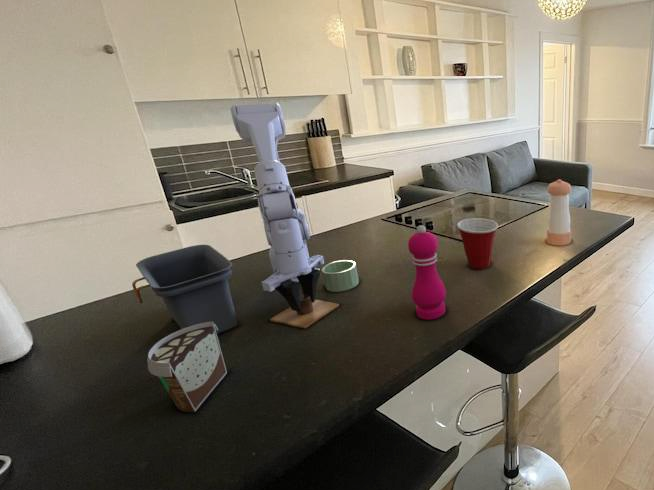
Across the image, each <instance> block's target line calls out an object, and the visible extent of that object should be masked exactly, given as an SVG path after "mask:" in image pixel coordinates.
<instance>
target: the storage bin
mask: <svg viewBox="0 0 654 490" xmlns="http://www.w3.org/2000/svg"><path fill="white" fill-rule="evenodd" d="M135 266H136V268H137V269H138V270H139V272H140V274H141V276H142V277H140V278H137V279H135V280H134V281H132V285H131V286H132V289H133V291H134V294H135V295H134V296H135V297H136V300H137V301H138V303H139V304H142V303H143V299H142V295H141V293H140V290H142V289H145V288H151V290H152V291H153V292H154V293H155V295H156V296H157V297H161V298H162V300H163V303H164V304H165V306H166V308H167V310H168V312H169V314H170V316H171V317H172V318H173V320H174V321H175V322H176V324H177V325H178V327H179V328H180V330H181V329H184V328H187V327H190V326H193V325H197V324H201V323H206V322H213V323H214V324H215V325H216V326H217V328H218V331H216V333H217V335H218V334H221V333H223V332H225V331H228V330H231V329H233V328H234V327H236V326H237V325H238V319H237V315H236V310H235V306H234V302H233V297H232V293H231V290H230V285H229V281H228V279H229V278H230V277H232V275H233V271H232V269H231V267H232V266H233V263H232V262H231V260H229V259H228V258H227V257H225V256H224V255H223V254H222V253H221V252H219V251H218V250H217V249H215V248H214V247H213V246H211V245H209V244H197V245H190V246H186V247H182V248H179V249H175V250H170V251H167V252H163V253H160V254H155V255H152V256H148V257H146V258H143V259H141V260H139V261H137V262H136V263H135ZM143 280H145V281H146V282H147V283H148V284H145V285H141V286H139V287H137V286H136V285H137V282H140V281H143Z"/></svg>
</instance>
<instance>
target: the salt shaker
mask: <svg viewBox="0 0 654 490" xmlns="http://www.w3.org/2000/svg"><path fill="white" fill-rule="evenodd" d="M546 190H547V193H548V194H549V211H548V217H547V229H546V243H547V244H548V245H552V246H566V245H569V244H571V242H572V230H571V216H570V215H571V214H570V209H569V206H570V205H569V204H570V203H569V201H570V199H569V198H570V197H569V196H570V194H571V192H572V190H573V189H572V185H571V184H570V183H568V182H566V181H563V180H562V179H559V178H557V179H556V181H553V182H551V183H549V184H548V186H547V188H546Z"/></svg>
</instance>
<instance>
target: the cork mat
mask: <svg viewBox="0 0 654 490" xmlns="http://www.w3.org/2000/svg"><path fill="white" fill-rule="evenodd" d="M299 298H300V302H301V310H300V311H294V310H292V309H291V307H290V306H289V307H287V308H286V309H284V310H283V311H281V312H279V313H277V314H276V315H274V316H272V317H271V318H269V321H270V322H274V323H278V324H283V325H287V326H291V327H296V328H301V329H303V330H304V329H307V328H308V327H310V326H311V325H313V324H315V323H316V322H318V321H319V320H320V319H322V318H323V317H325V316H326V315H328V314H329V313H330V312H333V310H336V309H337V308H338V307H339V306H340V304H339V303H338V302H337V303H336V302H331V301H327V300H326V301H325V300H320V299H316V298H315V302H313V303H312V301H311V297H310V295H309V294H303V293H301V294H300V293H299Z"/></svg>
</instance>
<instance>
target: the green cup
mask: <svg viewBox="0 0 654 490" xmlns="http://www.w3.org/2000/svg"><path fill="white" fill-rule="evenodd" d="M321 274H322V279H323V282H324V283H323V284H324V288H325V290H326V291H328V292H332V293H340V292H345V291H349V290H351V289H353V288H355V287H357V286H358V285H359V283H360V279H359V274H358V268H357V264H356V262H355V261H353V260H349V259H342V260H336V261H332V262H329V263H328V264H325V265H324V266H323V267H322V268H321Z"/></svg>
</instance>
